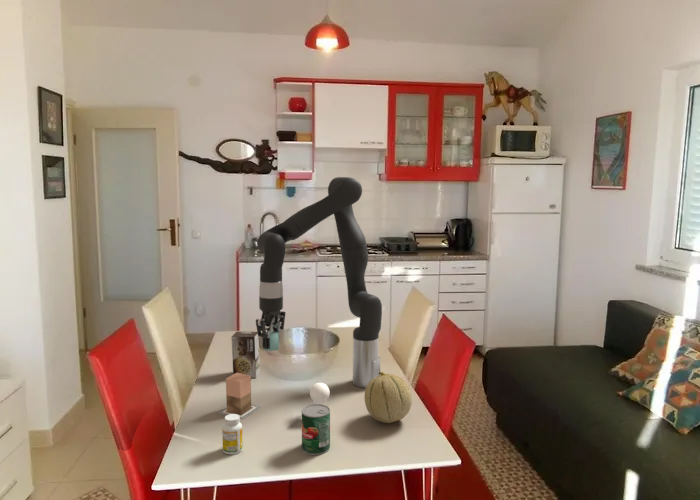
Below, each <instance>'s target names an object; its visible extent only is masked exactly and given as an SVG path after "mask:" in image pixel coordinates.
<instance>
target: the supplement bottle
mask: <svg viewBox="0 0 700 500" xmlns="http://www.w3.org/2000/svg"><path fill="white" fill-rule="evenodd" d="M240 421H241V419H240V416H239V415H237V414H229V415H227V416H225V415H224V423H223V425H222V427H221V428H222V429H221V431H222V451H223V453H224V454H227V455H228V456H229V455H238V454H239V453H241V451H242V449H244V448H243V447H244V446H243V443H244V442H243V424H242V423H241V422H240Z"/></svg>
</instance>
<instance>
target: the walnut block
mask: <svg viewBox="0 0 700 500" xmlns="http://www.w3.org/2000/svg"><path fill="white" fill-rule="evenodd" d="M225 396H226V400H225V401H226V407H227V412H230V413H234V414H238V415H242V414H243V413H245V412H246V411H248V410H249V409H251V405H252V391H251V392H250V393H248V394H247V395H245V396H244V397H242V398H237V397H232V396H228V395H225Z"/></svg>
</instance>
